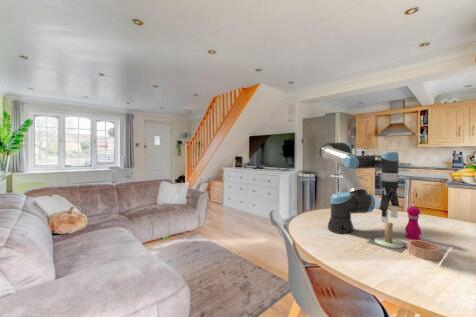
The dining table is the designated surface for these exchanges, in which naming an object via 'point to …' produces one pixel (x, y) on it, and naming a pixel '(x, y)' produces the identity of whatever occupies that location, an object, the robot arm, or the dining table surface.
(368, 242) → the mat
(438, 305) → the dining table surface
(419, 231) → the pepper mill
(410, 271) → the dining table surface
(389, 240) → the plunger
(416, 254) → the bowl
